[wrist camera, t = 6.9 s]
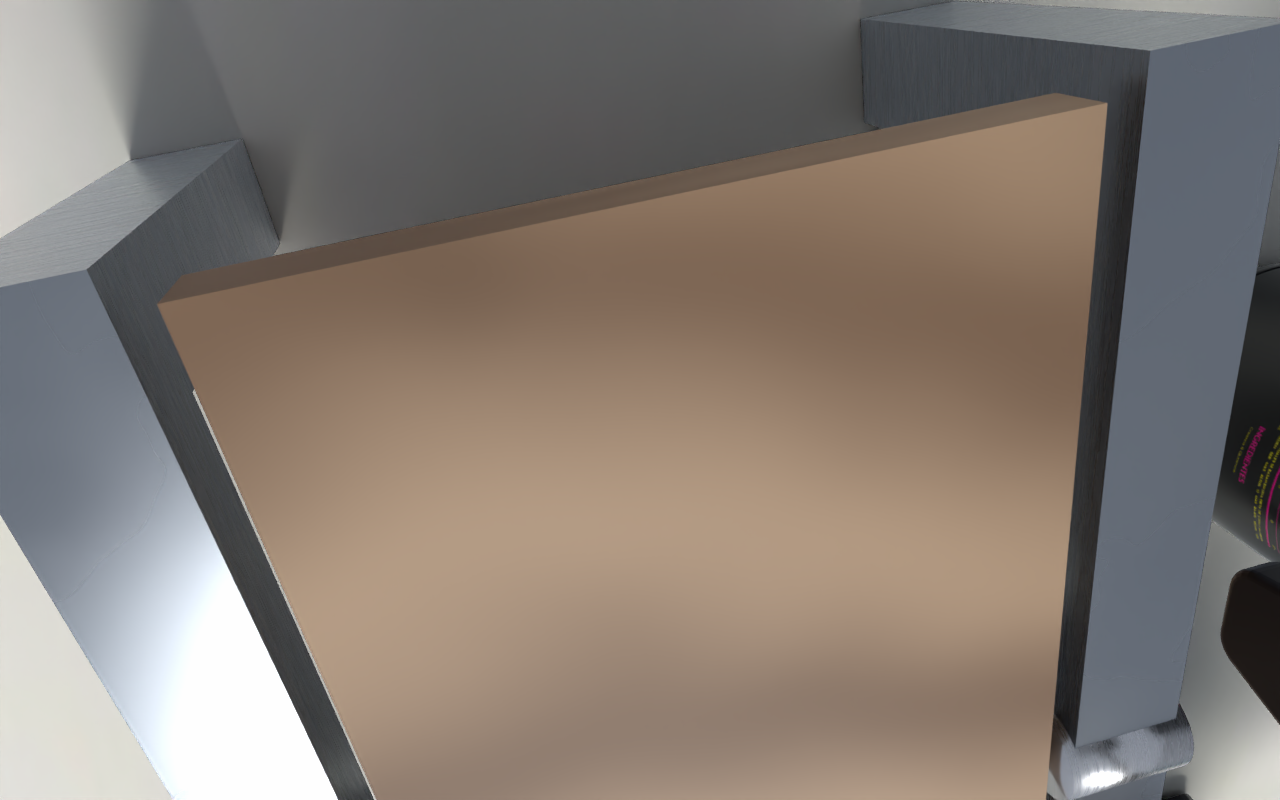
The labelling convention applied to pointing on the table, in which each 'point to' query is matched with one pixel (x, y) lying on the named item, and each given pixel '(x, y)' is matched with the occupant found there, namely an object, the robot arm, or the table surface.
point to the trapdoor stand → (893, 95)
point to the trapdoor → (685, 469)
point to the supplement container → (1255, 429)
